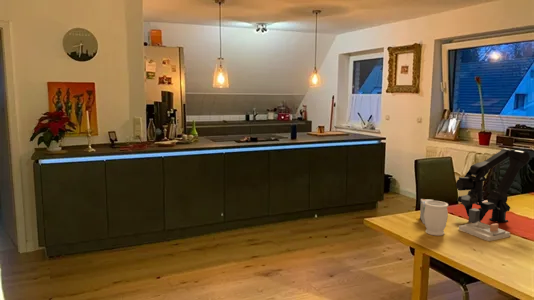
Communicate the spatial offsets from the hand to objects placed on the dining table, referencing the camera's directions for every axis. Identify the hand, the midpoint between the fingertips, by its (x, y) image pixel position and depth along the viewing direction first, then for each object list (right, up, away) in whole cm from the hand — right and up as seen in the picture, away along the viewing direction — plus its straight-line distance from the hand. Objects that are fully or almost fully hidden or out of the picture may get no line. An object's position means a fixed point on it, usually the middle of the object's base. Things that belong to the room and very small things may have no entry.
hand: (474, 218), depth 214 cm
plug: (0, -2, 0) cm, 2 cm away
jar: (-26, -5, -14) cm, 30 cm away
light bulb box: (-23, -2, +4) cm, 23 cm away
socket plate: (-3, -5, -15) cm, 16 cm away
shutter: (-1, -3, -20) cm, 20 cm away
